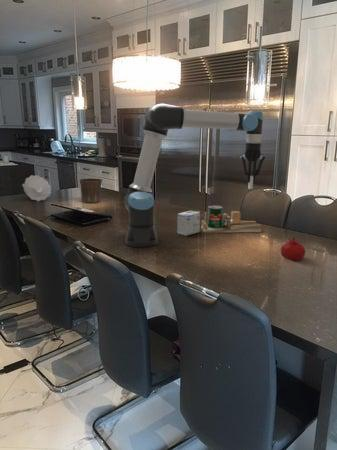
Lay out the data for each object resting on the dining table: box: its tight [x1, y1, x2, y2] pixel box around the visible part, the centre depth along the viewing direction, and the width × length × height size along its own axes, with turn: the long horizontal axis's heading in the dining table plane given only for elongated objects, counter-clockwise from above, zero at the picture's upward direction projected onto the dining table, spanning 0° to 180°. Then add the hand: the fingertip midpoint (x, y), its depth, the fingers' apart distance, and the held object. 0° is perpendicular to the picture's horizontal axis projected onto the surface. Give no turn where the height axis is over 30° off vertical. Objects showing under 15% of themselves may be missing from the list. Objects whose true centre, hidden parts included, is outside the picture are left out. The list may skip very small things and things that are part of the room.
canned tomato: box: [207, 204, 224, 229], centre depth 197 cm, size 8×8×11 cm
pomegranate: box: [280, 236, 306, 262], centre depth 156 cm, size 10×10×9 cm
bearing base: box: [201, 212, 262, 234], centre depth 199 cm, size 10×30×8 cm, turn 96°
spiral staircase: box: [21, 174, 52, 202], centre depth 276 cm, size 18×18×25 cm
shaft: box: [222, 210, 241, 227], centre depth 198 cm, size 4×9×8 cm, turn 96°
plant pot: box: [78, 178, 103, 204], centre depth 268 cm, size 16×16×16 cm
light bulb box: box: [177, 210, 201, 236], centre depth 192 cm, size 11×7×11 cm, turn 135°
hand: (250, 188), depth 195 cm, fingers closed
